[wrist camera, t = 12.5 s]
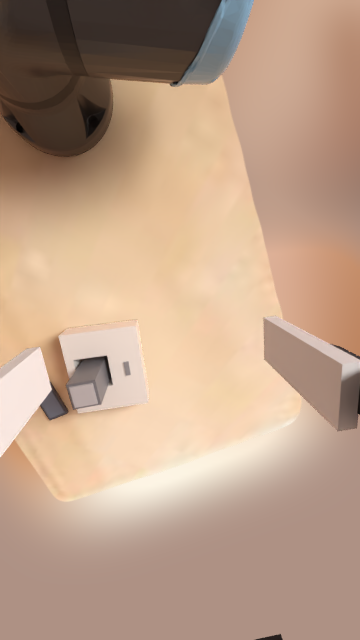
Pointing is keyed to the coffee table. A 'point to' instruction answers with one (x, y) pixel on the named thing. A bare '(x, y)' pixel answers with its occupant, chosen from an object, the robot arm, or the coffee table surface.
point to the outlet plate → (110, 360)
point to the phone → (53, 405)
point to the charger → (89, 382)
